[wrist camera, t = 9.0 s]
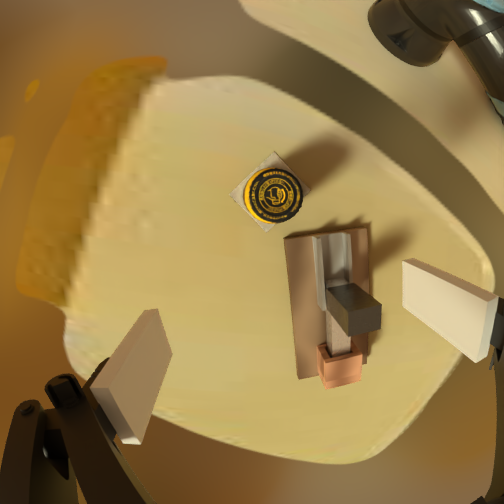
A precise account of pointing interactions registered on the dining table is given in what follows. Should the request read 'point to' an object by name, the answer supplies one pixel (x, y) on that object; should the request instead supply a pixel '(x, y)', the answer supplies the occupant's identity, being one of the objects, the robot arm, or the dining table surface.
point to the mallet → (348, 314)
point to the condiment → (271, 193)
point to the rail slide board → (313, 300)
